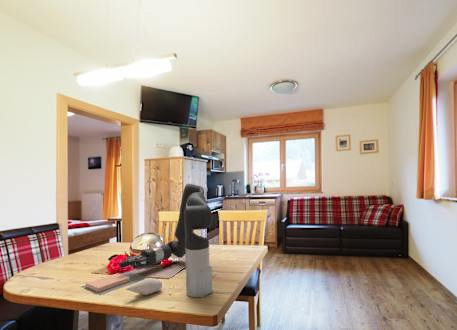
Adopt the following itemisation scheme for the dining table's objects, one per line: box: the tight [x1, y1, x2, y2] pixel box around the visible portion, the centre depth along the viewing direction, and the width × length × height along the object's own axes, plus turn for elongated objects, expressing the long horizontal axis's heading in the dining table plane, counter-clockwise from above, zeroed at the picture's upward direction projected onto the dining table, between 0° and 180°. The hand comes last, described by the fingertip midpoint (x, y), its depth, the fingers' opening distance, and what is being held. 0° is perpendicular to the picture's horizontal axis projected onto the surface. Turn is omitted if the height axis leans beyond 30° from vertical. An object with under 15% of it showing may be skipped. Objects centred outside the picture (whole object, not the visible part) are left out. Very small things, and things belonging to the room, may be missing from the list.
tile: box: [85, 272, 130, 292], centre depth 113 cm, size 10×2×14 cm
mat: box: [80, 271, 148, 296], centre depth 116 cm, size 16×22×1 cm
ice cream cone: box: [124, 277, 163, 296], centre depth 102 cm, size 6×6×15 cm
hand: (119, 265), depth 118 cm, fingers closed
